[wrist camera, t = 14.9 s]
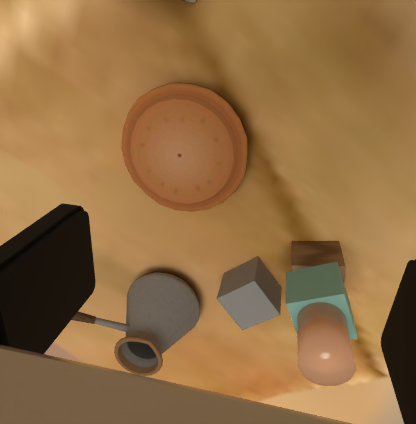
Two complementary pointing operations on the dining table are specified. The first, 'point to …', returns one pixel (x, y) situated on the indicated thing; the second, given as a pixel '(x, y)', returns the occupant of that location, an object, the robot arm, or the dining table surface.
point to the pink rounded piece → (324, 345)
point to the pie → (185, 147)
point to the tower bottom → (316, 254)
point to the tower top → (318, 291)
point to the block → (250, 294)
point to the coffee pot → (152, 321)
